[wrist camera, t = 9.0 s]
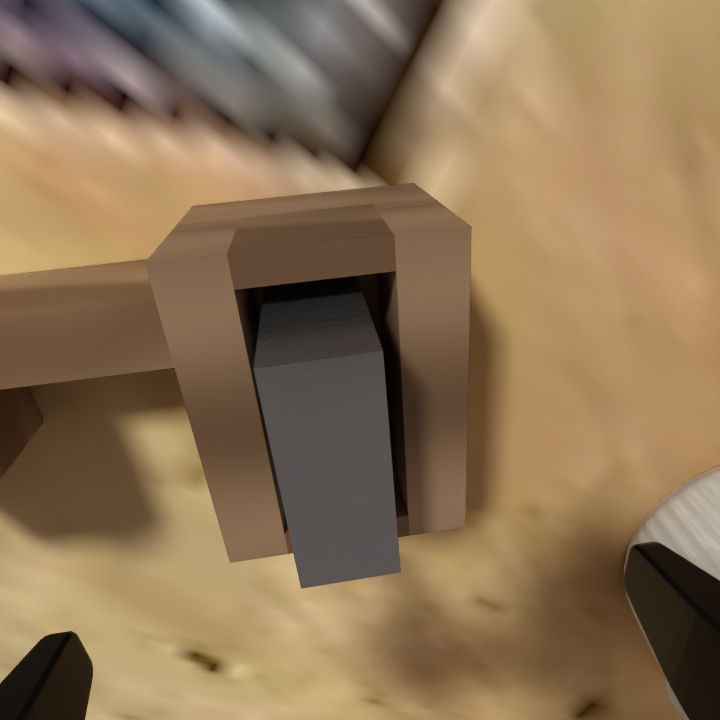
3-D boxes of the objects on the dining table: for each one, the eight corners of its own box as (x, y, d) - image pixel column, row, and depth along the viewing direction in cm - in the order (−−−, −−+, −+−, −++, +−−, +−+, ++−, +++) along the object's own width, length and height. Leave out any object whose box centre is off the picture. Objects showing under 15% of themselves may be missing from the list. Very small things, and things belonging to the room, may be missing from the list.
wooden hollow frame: (420, 416, 21) (496, 606, 13) (-74, 483, 20) (-309, 736, 12) (414, 183, 17) (519, 263, 9) (-219, 249, 15) (-730, 410, 8)
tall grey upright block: (367, 428, 18) (400, 572, 12) (298, 438, 18) (300, 588, 12) (350, 258, 15) (383, 350, 10) (266, 268, 15) (253, 368, 9)
